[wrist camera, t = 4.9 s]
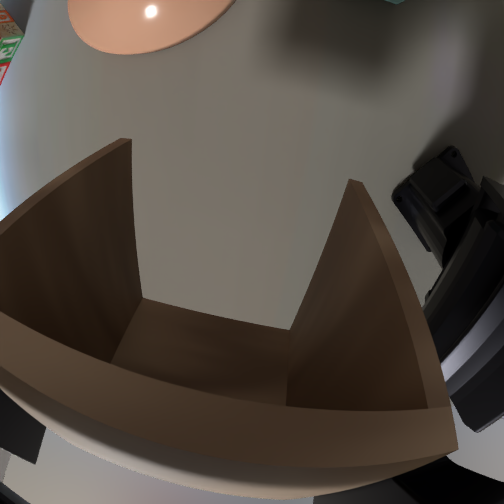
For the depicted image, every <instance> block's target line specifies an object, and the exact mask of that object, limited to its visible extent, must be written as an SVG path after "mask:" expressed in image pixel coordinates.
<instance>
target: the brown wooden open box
mask: <svg viewBox="0 0 504 504" xmlns="http://www.w3.org/2000/svg"><path fill="white" fill-rule="evenodd" d="M0 389H1V390H2V391H3V392H4V393H6V394H7V395H8V396H9V397H10V398H11V399H12V400H13V401H14V402H16V403H17V404H18V405H19V406H20V407H22V408H23V409H24V410H25V411H26V412H28V413H29V414H30V415H31V416H33V417H34V418H35V419H37V420H38V421H39V422H40V423H42V424H43V425H45V426H46V427H47V428H49V429H50V430H51V431H53V432H54V433H56V434H57V435H59V436H60V437H62V438H63V439H65V440H66V441H68V442H69V443H71V444H73V445H75V446H77V447H79V448H81V449H83V450H85V451H87V452H89V453H91V454H93V455H96V456H98V457H100V458H102V459H105V460H107V461H109V462H112V463H114V464H117V465H119V466H122V467H125V468H127V469H130V470H133V471H135V472H139V473H141V474H144V475H147V476H150V477H154V478H157V479H160V480H164V481H167V482H171V483H175V484H179V485H182V486H187V487H191V488H195V489H201V490H205V491H211V492H216V493H222V494H228V495H235V496H243V497H252V498H263V499H278V500H289V499H297V498H306V497H312V496H318V495H324V494H330V493H335V492H339V491H344V490H348V489H353V488H357V487H361V486H364V485H368V484H372V483H375V482H378V481H382V480H385V479H388V478H391V477H394V476H397V475H400V474H403V473H405V472H408V471H411V470H413V469H416V468H419V467H421V466H423V465H426V464H428V463H430V462H433V461H435V460H437V459H439V458H442V457H444V456H446V455H448V454H450V453H452V452H454V451H456V450H458V442H457V436H456V430H455V424H454V420H453V414H452V409H451V404H450V400H449V396H448V391H447V387H446V383H445V379H444V376H443V372H442V368H441V365H440V361H439V358H438V355H437V351H436V348H435V345H434V342H433V339H432V336H431V333H430V330H429V327H428V324H427V321H426V318H425V316H424V313H423V310H422V307H421V305H420V302H419V300H418V297H417V295H416V292H415V290H414V287H413V285H412V282H411V280H410V277H409V275H408V273H407V270H406V268H405V266H404V264H403V261H402V259H401V257H400V255H399V253H398V250H397V248H396V246H395V244H394V242H393V240H392V238H391V236H390V234H389V232H388V230H387V228H386V226H385V224H384V222H383V220H382V218H381V216H380V214H379V212H378V210H377V208H376V207H375V205H374V203H373V201H372V199H371V197H370V196H369V194H368V192H367V190H366V189H365V187H364V185H363V183H362V182H359V181H356V180H352V179H349V181H348V184H347V187H346V189H345V192H344V195H343V198H342V201H341V204H340V207H339V209H338V212H337V215H336V218H335V220H334V223H333V226H332V228H331V231H330V234H329V236H328V239H327V242H326V244H325V247H324V249H323V252H322V255H321V257H320V260H319V262H318V265H317V267H316V270H315V272H314V275H313V277H312V279H311V282H310V284H309V287H308V289H307V292H306V294H305V296H304V299H303V301H302V303H301V306H300V308H299V310H298V313H297V315H296V317H295V319H294V322H293V324H292V326H291V328H290V330H286V329H280V328H274V327H269V326H263V325H258V324H253V323H248V322H243V321H238V320H233V319H229V318H224V317H219V316H215V315H210V314H206V313H201V312H197V311H193V310H189V309H185V308H180V307H176V306H172V305H168V304H165V303H161V302H157V301H153V300H149V299H146V298H143V297H142V290H141V283H140V275H139V267H138V259H137V249H136V239H135V227H134V213H133V194H132V139H126V138H120V139H118V140H116V141H115V142H113V143H111V144H109V145H107V146H106V147H104V148H102V149H100V150H99V151H97V152H95V153H94V154H92V155H90V156H89V157H87V158H85V159H84V160H82V161H81V162H79V163H77V164H76V165H74V166H73V167H71V168H70V169H68V170H67V171H65V172H64V173H62V174H61V175H59V176H58V177H56V178H55V179H54V180H52V181H51V182H49V183H48V184H46V185H45V186H44V187H42V188H41V189H40V190H38V191H37V192H36V193H34V194H33V195H32V196H30V197H29V198H28V199H27V200H25V201H24V202H23V203H22V204H20V205H19V206H18V207H17V208H15V209H14V210H13V211H12V212H11V213H9V214H8V215H7V216H6V217H5V218H4V219H3V220H1V221H0Z"/></svg>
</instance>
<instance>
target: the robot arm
mask: <svg viewBox="0 0 504 504" xmlns="http://www.w3.org/2000/svg"><path fill="white" fill-rule="evenodd" d="M453 151H454V155H453V156H452V155H451V154H452V152H453ZM480 185H481V188H480V187H479V186H478V185H476V184H475V182H474V180H473V178H472V176H471V174H470V172H469V170H468V167H467V165H466V163H465V161H464V159H463V157H462V156H461V154H460V152H459V150H458V149H457V148H456V147H454V146H450V147H448V148H447V149H446V150H445V151H444V152H442V153H441V154H440V155H439V156H438V157H436V158H433V159H432V160H431V161H429V162H428V163H427V164H426V165H424V166H423V167H422V168H421V169H420V170H418V171H417V172H416V173H415V174H414V175H412V176H411V177H410V180H408V181H407V182H406V183H405V184H403V185H402V186H401V187H400V188H398V189H397V190H396V191H395V192H394V193H393V194H392V196H391V197H392V201H393V202H394V204H395V205H396V207H397V208H398V209H399V211H400V212H401V214H402V215H403V216H404V218H405V219H406V221H407V222H408V223H409V225H410V226H411V228H412V229H413V231H414V232H415V234H416V235H417V237H418V238H419V240H420V241H421V243H422V244H423V246H424V247H425V249H426V250H427V251H428V252H433V254H434V256H435V258H436V259H437V261H438V263H439V265H440V266H441V268H442V272H441V273H440V275H439V277H438V279H437V280H436V282H435V284H434V286H433V287H432V289H431V290H429V291H428V293H427V294H426V296H425V304H424V306H423V307H422V310H423V313H424V316H425V318H426V321H427V324H428V327H429V330H430V333H431V336H432V339H433V342H434V345H435V348H436V351H437V355H438V358H439V361H440V365H441V368H442V372H443V376H444V379H445V383H446V387H447V391H448V396H449V397H450V399H451V400H452V402H453V404H454V405H455V407H456V409H457V411H458V413H459V415H460V417H461V419H462V421H463V422H464V424H465V425H466V426H468V427H469V428H470V429H472V430H473V431H474V432H477V433H478V432H481V431H482V430H484V429H485V428H487V427H488V426H490V425H491V424H493V423H494V422H496V421H497V420H499V419H500V418H502V419H504V185H502V184H500V183H498V182H496V181H494V180H492V179H489V178H487V177H485V176H483V179H482V181H481V184H480ZM398 196H401V198H400V199H399V200H396V198H397V197H398ZM45 430H46V426H45V425H43V424H42V423H40V422H39V421H38V420H37V419H35V418H34V417H33V416H31V415H30V414H29V413H28V412H26V411H25V410H24V409H23V408H22V407H20V406H19V405H18V404H17V403H16V402H14V401H13V400H12V399H11V398H10V397H9V396H8V395H7V394H6V393H4V392H3V391H2V390H1V389H0V504H30V503H28V502H27V501H26V500H24V499H23V498H21V497H20V496H19V495H17V494H16V493H15V492H13V491H12V490H11V489H9V488H8V487H7V486H6V485H4V484H3V483H2V482H3V479H4V475H5V471H6V468H7V465H8V462H9V459H10V456H11V454H13V455H16V456H17V457H20V458H22V459H24V460H26V461H28V462H31V463H33V464H36V461H37V457H38V454H39V450H40V447H41V443H42V440H43V437H44V433H45ZM313 504H504V482H501V481H498V480H495V479H492V478H489V477H487V476H484V475H482V474H479V473H476V472H474V471H471V470H469V469H466V468H464V467H462V466H459V465H457V464H456V463H454V462H453V461H451V460H450V459H449V458H448V457H447V456H444V457H442V458H439V459H437V460H435V461H433V462H430V463H428V464H426V465H423V466H421V467H419V468H416V469H413V470H411V471H408V472H405V473H403V474H400V475H397V476H394V477H391V478H388V479H385V480H382V481H378V482H375V483H372V484H368V485H364V486H361V487H357V488H353V489H348V490H344V491H339V492H335V493H330V494H324V495H318V496H314V500H313Z"/></svg>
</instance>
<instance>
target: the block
mask: <svg viewBox="0 0 504 504" xmlns="http://www.w3.org/2000/svg"><path fill="white" fill-rule="evenodd" d="M385 1H388V2H391V3H393V4H396V5H397V4H399V3H401V2H403V1H405V0H385Z"/></svg>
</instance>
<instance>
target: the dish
mask: <svg viewBox="0 0 504 504" xmlns="http://www.w3.org/2000/svg"><path fill="white" fill-rule="evenodd" d="M235 1H236V0H68V13H69V17H70V21H71V23H72V26H73V28H74V30H75V31H76V33H77V35H78V36H79V37H80V38H81V39H82V40H83V41H84V42H86V43H87V44H88V45H90V46H91V47H93V48H95V49H97V50H100V51H103V52H107V53H113V54H145V53H151V52H156V51H160V50H163V49H167V48H170V47H173V46H175V45H178V44H180V43H182V42H184V41H186V40H188V39H190V38H192V37H194V36H196V35H197V34H199V33H200V32H202V31H204V30H205V29H206V28H208V27H209V26H210V25H212V24H213V23H214V22H216V21H217V20H218V19H219V18H220V17H221V16H222V15H223V14H225V13H226V11H227V10H228V9H229V8H230V7H231V6H232V5H233V4H234V2H235Z"/></svg>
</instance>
